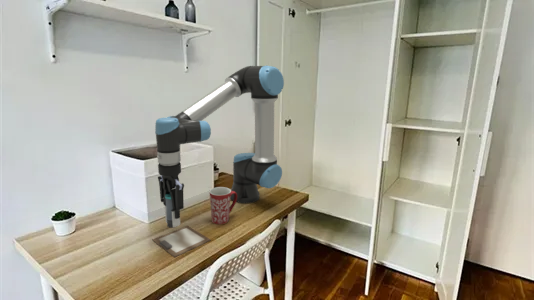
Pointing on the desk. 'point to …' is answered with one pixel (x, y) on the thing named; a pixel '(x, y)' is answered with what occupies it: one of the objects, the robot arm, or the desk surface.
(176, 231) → the clipboard
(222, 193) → the mug
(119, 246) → the desk surface
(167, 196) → the grey cylinder
